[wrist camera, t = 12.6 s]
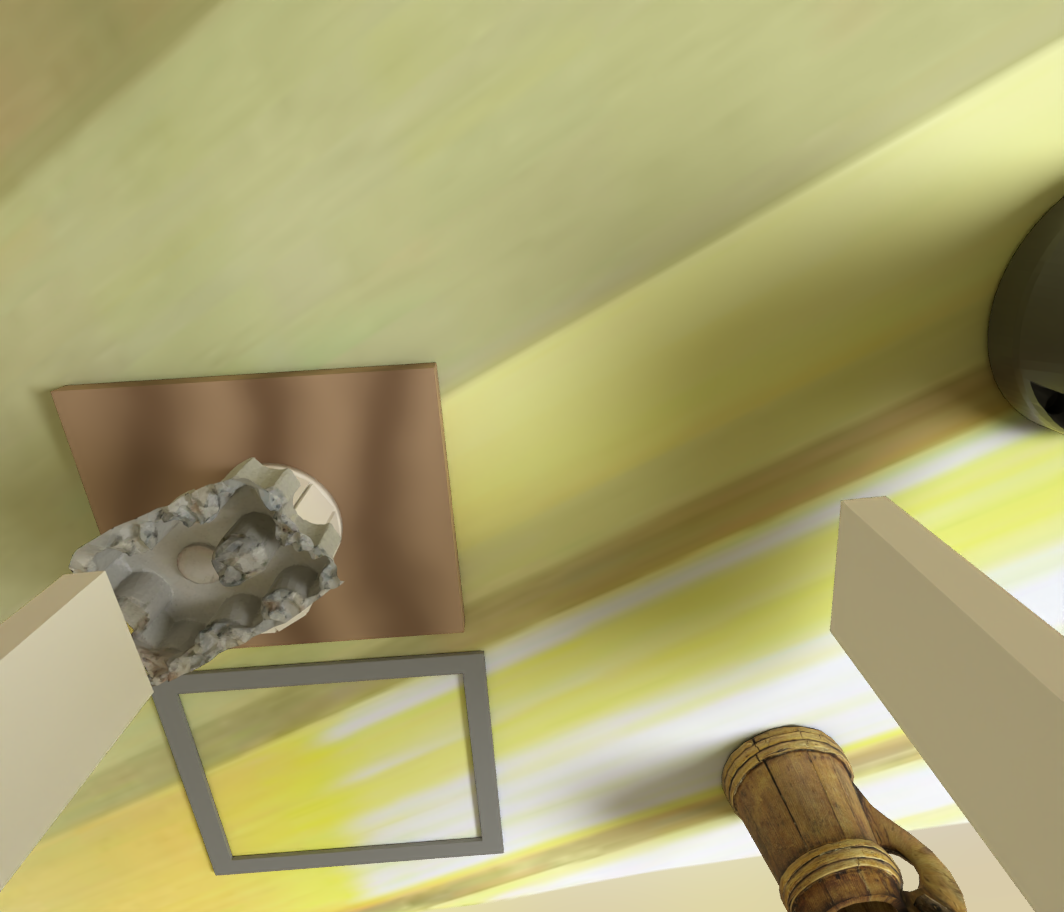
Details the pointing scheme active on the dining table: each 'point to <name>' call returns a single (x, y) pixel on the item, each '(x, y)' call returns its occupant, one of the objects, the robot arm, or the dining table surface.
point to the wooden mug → (827, 830)
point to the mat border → (320, 674)
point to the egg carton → (214, 568)
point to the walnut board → (308, 445)
